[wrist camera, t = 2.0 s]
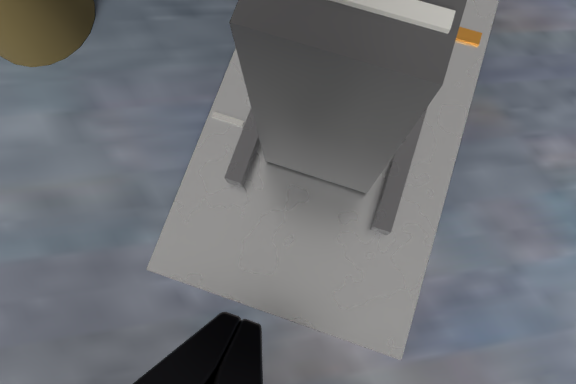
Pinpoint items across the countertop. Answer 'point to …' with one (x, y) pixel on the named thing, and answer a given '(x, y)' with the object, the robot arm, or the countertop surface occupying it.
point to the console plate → (320, 214)
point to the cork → (43, 29)
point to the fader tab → (341, 78)
